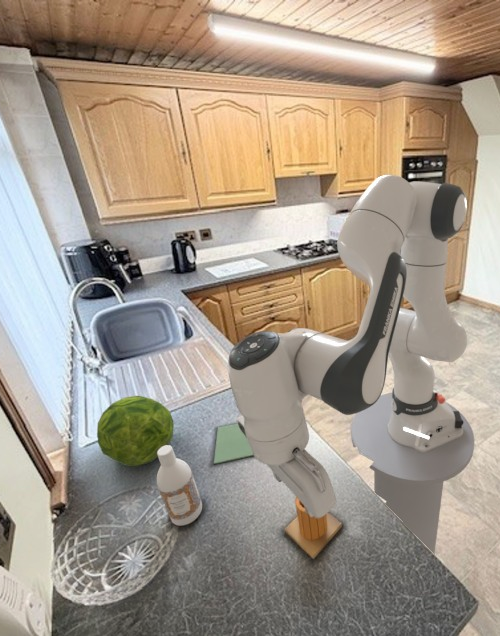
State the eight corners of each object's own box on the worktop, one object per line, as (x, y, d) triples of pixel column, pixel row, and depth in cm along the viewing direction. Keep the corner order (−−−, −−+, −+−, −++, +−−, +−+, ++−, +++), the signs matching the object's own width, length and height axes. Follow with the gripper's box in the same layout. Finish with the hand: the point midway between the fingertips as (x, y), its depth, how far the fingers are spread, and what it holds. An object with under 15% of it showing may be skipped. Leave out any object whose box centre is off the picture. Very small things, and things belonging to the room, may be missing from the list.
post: (313, 502, 82) (311, 482, 79) (342, 526, 77) (340, 505, 74) (284, 531, 76) (280, 511, 73) (313, 559, 71) (310, 538, 68)
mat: (264, 419, 109) (264, 418, 109) (266, 452, 97) (266, 451, 96) (217, 428, 106) (217, 427, 106) (214, 464, 94) (213, 463, 94)
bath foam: (169, 531, 77) (143, 467, 69) (172, 504, 83) (148, 443, 75) (202, 520, 79) (181, 457, 71) (203, 495, 85) (183, 434, 76)
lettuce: (159, 414, 113) (129, 374, 105) (194, 437, 98) (162, 392, 90) (106, 456, 102) (67, 415, 94) (136, 489, 88) (94, 444, 80)
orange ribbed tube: (324, 510, 79) (321, 483, 75) (329, 535, 74) (326, 507, 70) (297, 517, 78) (293, 490, 74) (301, 543, 73) (297, 515, 69)
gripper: (338, 457, 47) (350, 521, 53) (263, 395, 62) (280, 451, 68) (301, 488, 44) (319, 552, 50) (231, 414, 58) (251, 471, 64)
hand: (296, 493), depth 59 cm, fingers open, 8 cm apart
